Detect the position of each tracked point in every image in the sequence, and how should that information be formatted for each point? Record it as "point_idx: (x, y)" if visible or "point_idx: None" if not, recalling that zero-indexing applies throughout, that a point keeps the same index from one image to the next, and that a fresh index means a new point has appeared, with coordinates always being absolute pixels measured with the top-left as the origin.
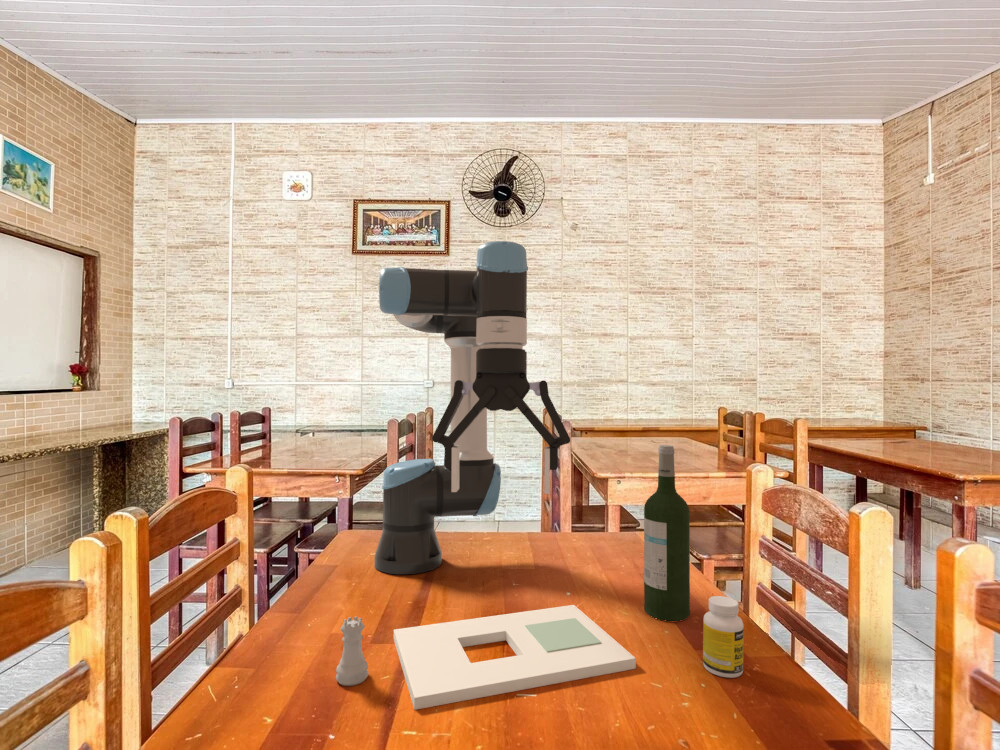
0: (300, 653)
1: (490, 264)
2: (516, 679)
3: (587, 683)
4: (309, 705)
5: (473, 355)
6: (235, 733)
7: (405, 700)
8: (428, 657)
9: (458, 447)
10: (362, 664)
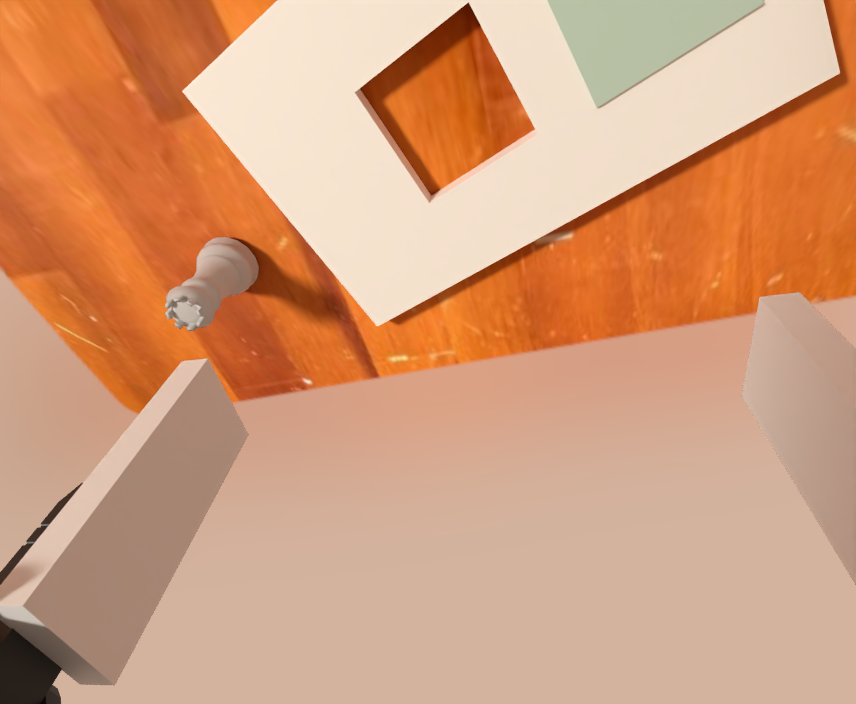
0: (75, 205)
1: None
2: (534, 240)
3: (682, 169)
4: (230, 336)
5: None
6: None
7: None
8: (335, 203)
9: (68, 629)
10: (242, 276)
